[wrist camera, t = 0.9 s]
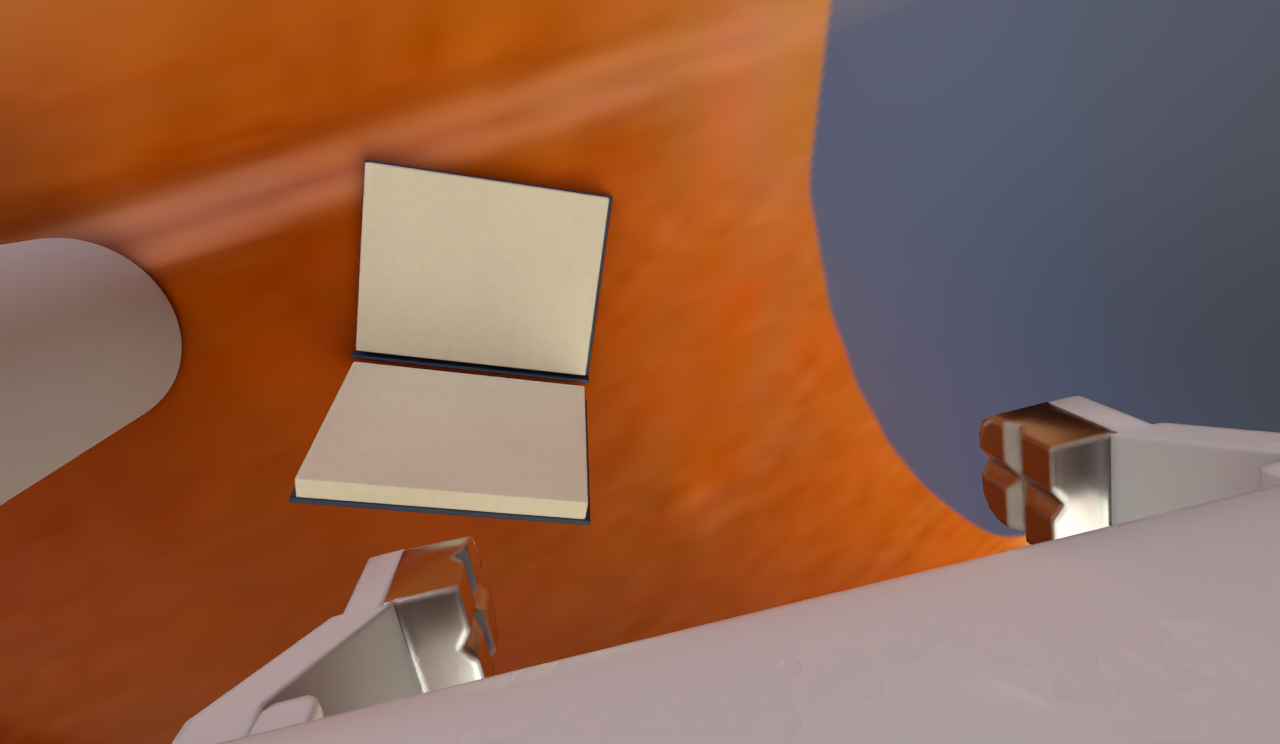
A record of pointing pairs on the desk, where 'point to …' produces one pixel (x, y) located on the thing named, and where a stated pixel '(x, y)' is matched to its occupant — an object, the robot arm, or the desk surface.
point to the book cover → (451, 446)
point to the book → (478, 273)
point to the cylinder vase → (75, 353)
